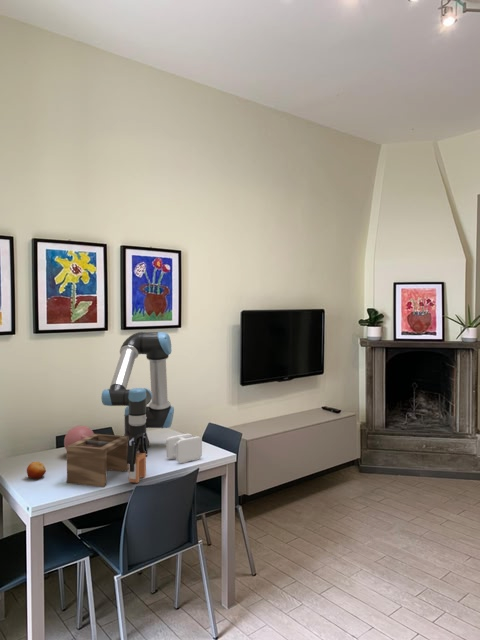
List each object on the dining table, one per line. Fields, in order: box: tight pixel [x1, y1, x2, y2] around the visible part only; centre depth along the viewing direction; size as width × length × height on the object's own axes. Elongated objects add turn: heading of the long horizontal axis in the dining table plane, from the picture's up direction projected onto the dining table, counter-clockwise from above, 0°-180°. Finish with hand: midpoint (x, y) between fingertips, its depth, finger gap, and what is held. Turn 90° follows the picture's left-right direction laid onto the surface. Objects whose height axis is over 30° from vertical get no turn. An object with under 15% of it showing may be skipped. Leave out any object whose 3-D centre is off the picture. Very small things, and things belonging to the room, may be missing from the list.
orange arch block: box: [128, 451, 147, 484], centre depth 210 cm, size 4×8×10 cm, turn 165°
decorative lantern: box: [63, 425, 95, 451], centre depth 243 cm, size 15×20×15 cm
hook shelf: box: [66, 433, 129, 488], centre depth 214 cm, size 22×18×16 cm
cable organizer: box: [165, 433, 203, 464], centre depth 239 cm, size 15×11×12 cm
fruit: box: [26, 461, 47, 480], centre depth 212 cm, size 8×8×8 cm
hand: (137, 475), depth 210 cm, fingers closed on orange arch block, 8 cm apart
